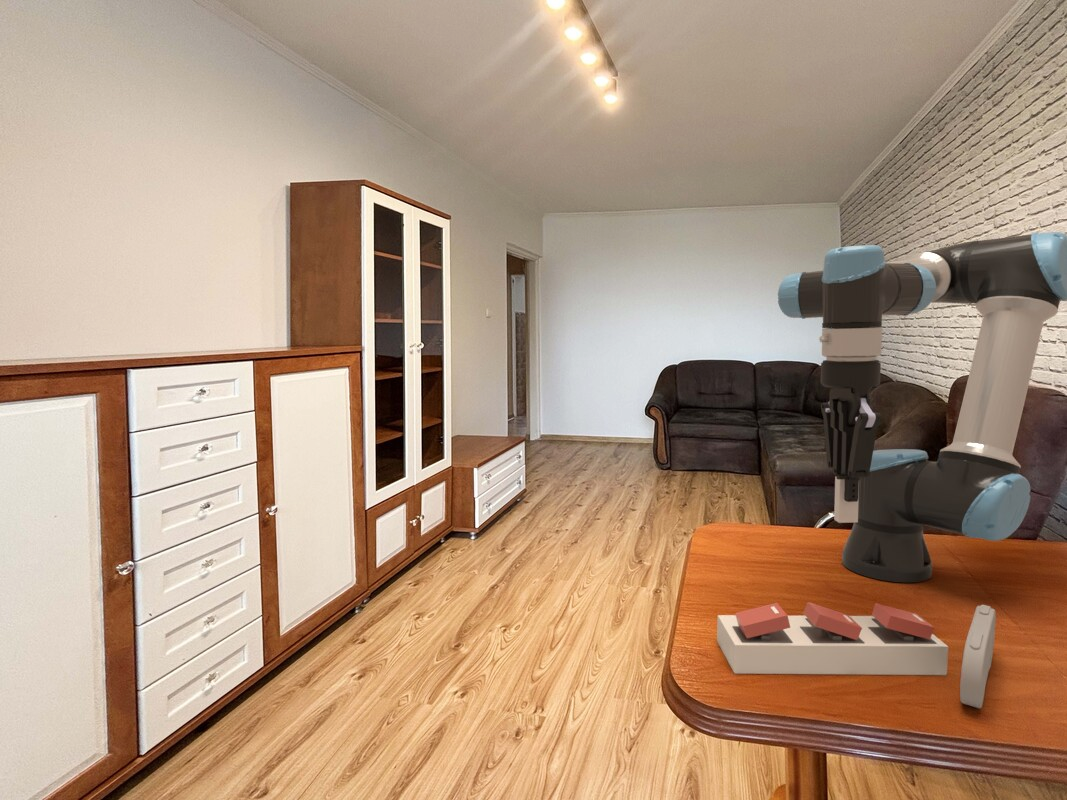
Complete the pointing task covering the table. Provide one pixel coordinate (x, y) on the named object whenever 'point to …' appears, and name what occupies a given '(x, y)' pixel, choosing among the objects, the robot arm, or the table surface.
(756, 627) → the rocker
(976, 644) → the grey rounded slab
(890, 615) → the block
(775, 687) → the table surface
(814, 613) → the block
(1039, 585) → the table surface
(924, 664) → the rocker switch panel
